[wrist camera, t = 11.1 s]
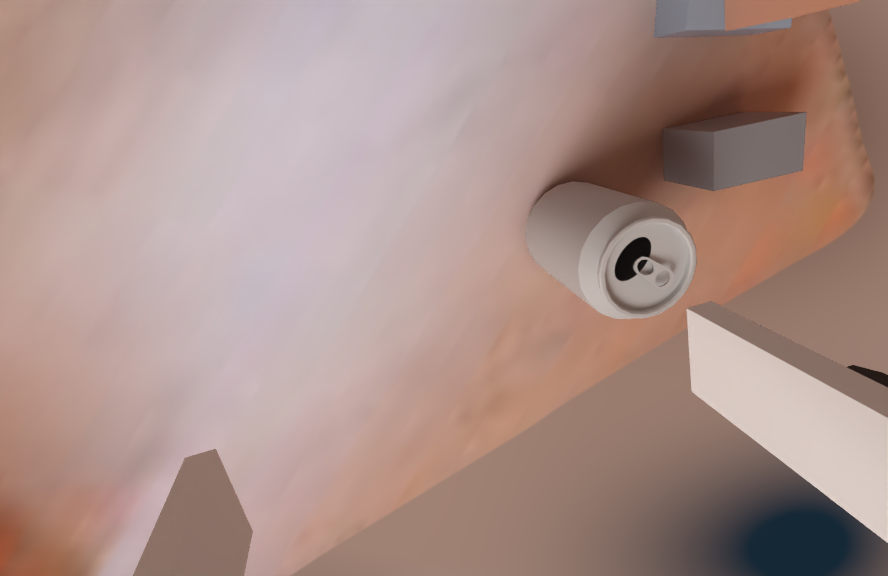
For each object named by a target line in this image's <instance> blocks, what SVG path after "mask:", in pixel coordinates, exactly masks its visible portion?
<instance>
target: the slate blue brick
mask: <svg viewBox="0 0 888 576" xmlns="http://www.w3.org/2000/svg"><path fill="white" fill-rule="evenodd" d="M791 22H792V18H788V19H783V20H778V21H773V22H769V23H764V24H759V25H754V26H749V27H744V28H739V29H734V30H729V31H725V3H724V0H657V6H656V18H655V31H654V38H660V37H699V36H737V35H754V34H760V33H765V32H771V31H776V30H782V29H787V28H791Z"/></svg>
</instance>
